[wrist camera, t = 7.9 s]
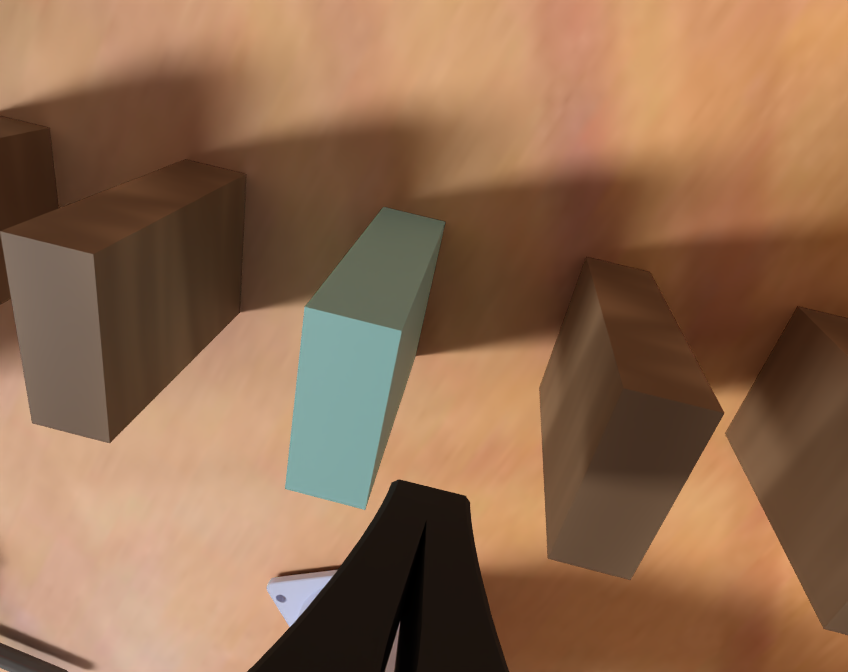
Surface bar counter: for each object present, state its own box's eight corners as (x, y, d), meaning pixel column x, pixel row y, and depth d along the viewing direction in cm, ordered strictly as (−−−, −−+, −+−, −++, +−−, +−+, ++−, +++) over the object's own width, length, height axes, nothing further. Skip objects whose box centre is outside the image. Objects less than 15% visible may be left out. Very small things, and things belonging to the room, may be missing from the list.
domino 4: (246, 174, 18) (93, 254, 12) (239, 312, 21) (109, 443, 14) (185, 159, 18) (0, 231, 12) (186, 299, 21) (32, 423, 14)
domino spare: (445, 221, 18) (401, 330, 12) (415, 356, 21) (365, 509, 14) (383, 206, 18) (304, 306, 12) (361, 342, 21) (285, 488, 14)
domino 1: (863, 321, 18) (1066, 495, 11) (782, 447, 20) (909, 651, 13) (797, 306, 18) (960, 469, 11) (724, 433, 20) (823, 628, 14)
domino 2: (650, 271, 18) (724, 413, 11) (595, 401, 20) (630, 579, 14) (586, 256, 18) (623, 388, 11) (539, 387, 20) (547, 558, 14)
